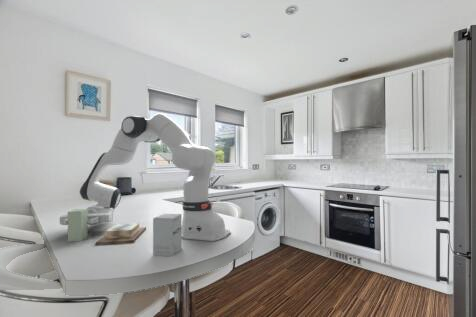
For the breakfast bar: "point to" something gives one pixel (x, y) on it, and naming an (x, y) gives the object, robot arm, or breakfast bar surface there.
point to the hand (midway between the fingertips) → (77, 222)
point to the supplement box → (167, 234)
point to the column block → (77, 224)
